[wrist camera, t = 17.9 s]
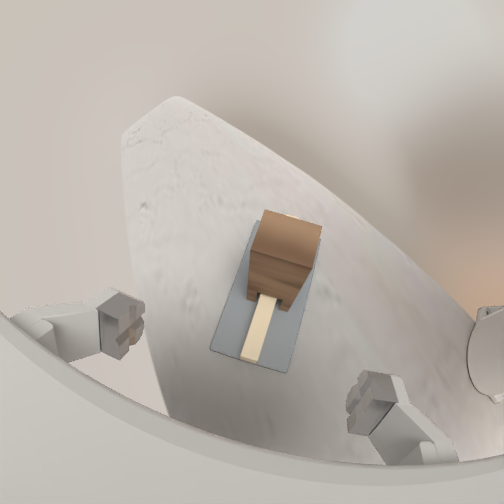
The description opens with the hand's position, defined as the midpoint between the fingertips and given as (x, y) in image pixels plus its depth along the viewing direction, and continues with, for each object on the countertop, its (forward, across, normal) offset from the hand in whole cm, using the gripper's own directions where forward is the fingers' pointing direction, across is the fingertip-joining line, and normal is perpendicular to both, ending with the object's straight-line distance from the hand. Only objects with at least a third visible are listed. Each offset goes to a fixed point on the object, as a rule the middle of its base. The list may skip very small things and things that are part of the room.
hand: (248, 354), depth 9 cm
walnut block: (+27, 0, +10) cm, 29 cm away
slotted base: (+28, 0, +11) cm, 30 cm away
